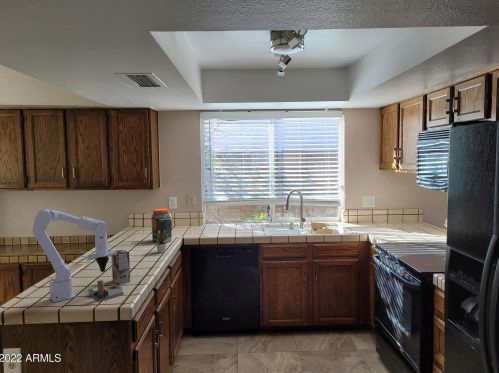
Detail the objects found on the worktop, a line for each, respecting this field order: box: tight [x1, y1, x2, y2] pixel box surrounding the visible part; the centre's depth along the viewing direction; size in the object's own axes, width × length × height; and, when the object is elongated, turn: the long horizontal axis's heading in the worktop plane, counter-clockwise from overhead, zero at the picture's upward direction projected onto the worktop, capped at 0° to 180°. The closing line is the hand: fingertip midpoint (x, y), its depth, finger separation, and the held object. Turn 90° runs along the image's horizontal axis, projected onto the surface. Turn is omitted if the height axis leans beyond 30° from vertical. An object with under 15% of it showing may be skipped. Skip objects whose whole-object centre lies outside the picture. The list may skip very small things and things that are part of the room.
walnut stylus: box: [96, 279, 105, 298], centre depth 174 cm, size 3×3×8 cm
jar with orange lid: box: [150, 208, 173, 244], centre depth 293 cm, size 16×16×26 cm
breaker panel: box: [88, 283, 125, 302], centre depth 180 cm, size 12×13×3 cm
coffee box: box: [110, 249, 131, 285], centre depth 199 cm, size 9×6×16 cm
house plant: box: [151, 230, 173, 254], centre depth 258 cm, size 14×14×16 cm
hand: (102, 271), depth 184 cm, fingers closed
